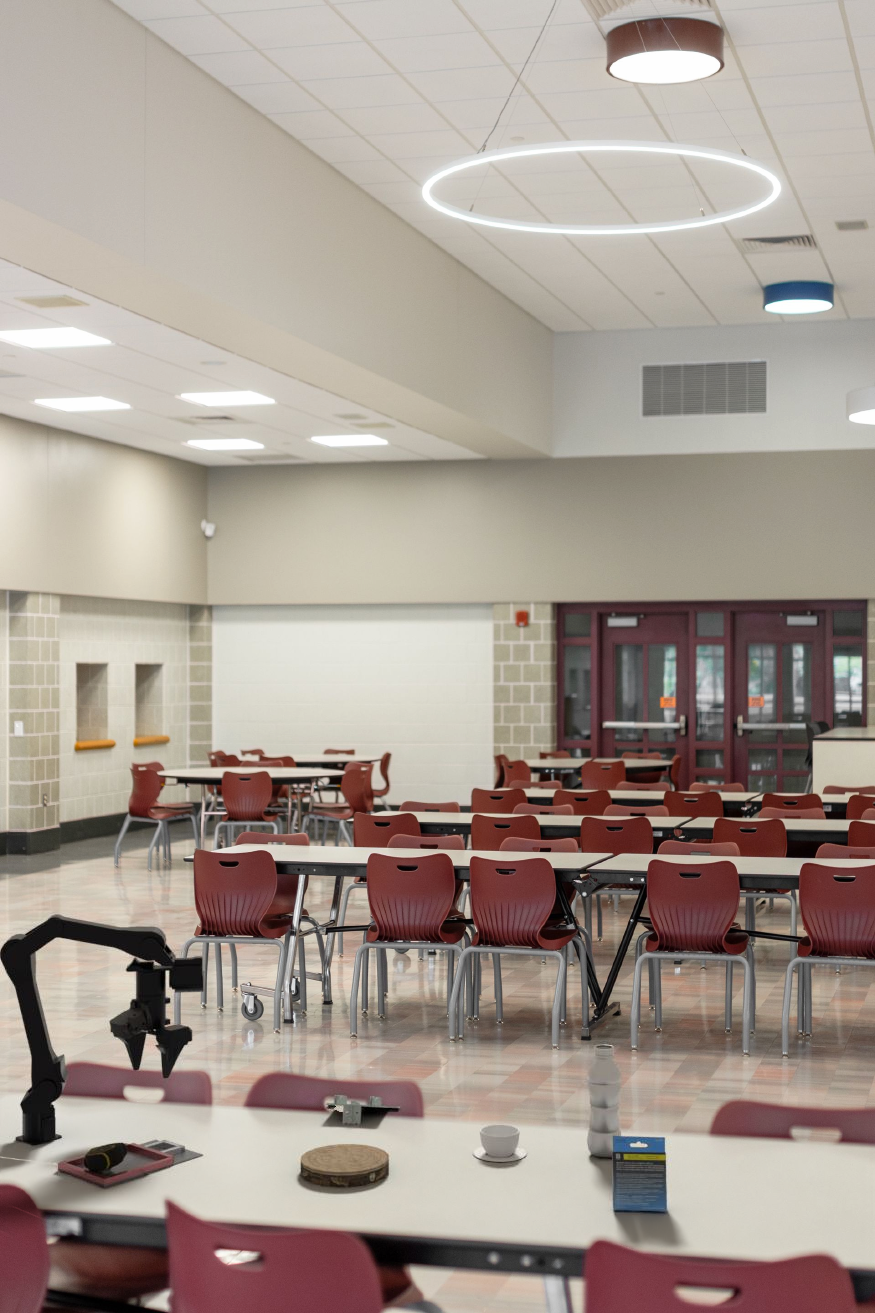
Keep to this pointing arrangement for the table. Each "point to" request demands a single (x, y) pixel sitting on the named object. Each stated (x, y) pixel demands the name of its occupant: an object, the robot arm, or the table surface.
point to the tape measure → (105, 1157)
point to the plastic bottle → (603, 1101)
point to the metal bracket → (355, 1108)
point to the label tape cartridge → (639, 1174)
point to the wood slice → (344, 1166)
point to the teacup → (499, 1144)
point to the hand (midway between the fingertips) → (150, 1074)
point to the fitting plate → (131, 1163)
